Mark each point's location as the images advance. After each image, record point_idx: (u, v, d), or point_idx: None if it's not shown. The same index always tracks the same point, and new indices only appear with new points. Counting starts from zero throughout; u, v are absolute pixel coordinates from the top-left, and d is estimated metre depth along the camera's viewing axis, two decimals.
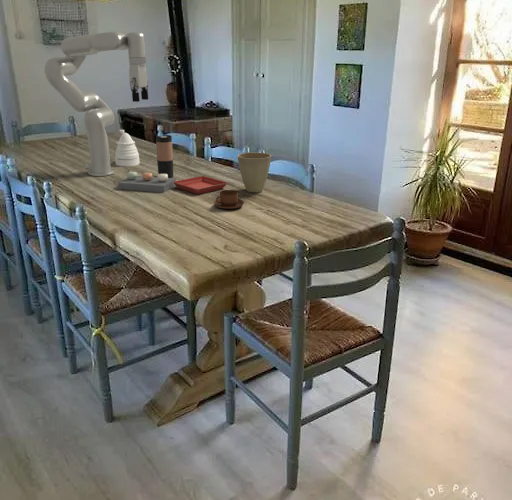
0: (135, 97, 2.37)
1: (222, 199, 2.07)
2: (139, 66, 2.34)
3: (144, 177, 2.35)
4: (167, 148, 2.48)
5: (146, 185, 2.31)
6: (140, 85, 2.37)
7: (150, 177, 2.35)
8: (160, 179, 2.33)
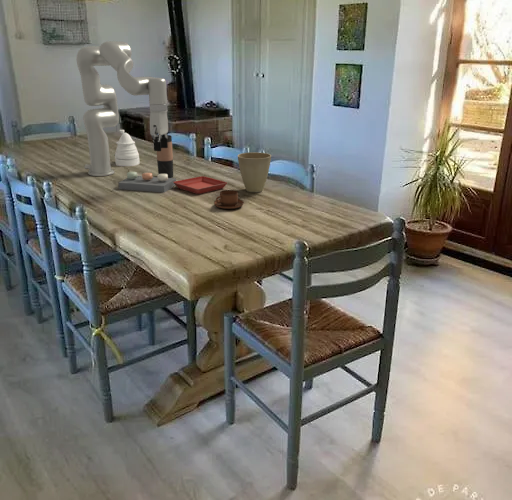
0: (157, 147, 2.25)
1: (222, 199, 2.07)
2: (160, 113, 2.21)
3: (144, 177, 2.35)
4: (167, 148, 2.48)
5: (146, 185, 2.31)
6: (161, 133, 2.24)
7: (150, 177, 2.35)
8: (160, 179, 2.33)
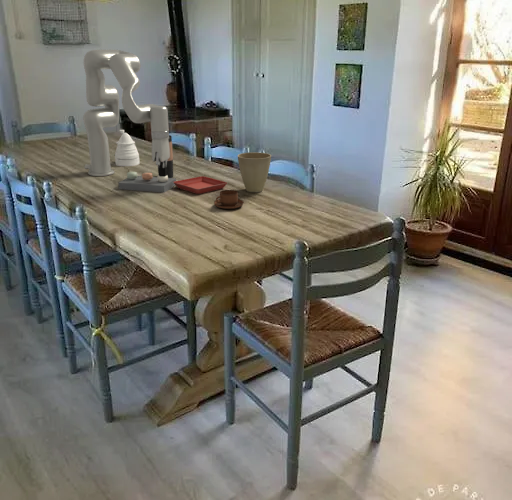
0: (162, 172, 2.32)
1: (222, 199, 2.07)
2: (162, 140, 2.25)
3: (144, 177, 2.35)
4: None
5: (146, 185, 2.31)
6: (163, 159, 2.28)
7: (150, 177, 2.35)
8: (160, 180, 2.33)
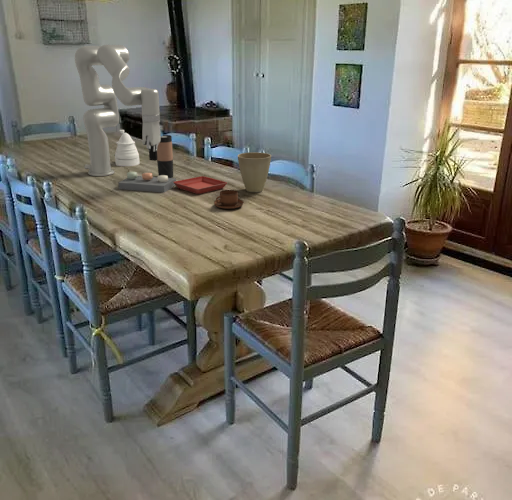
0: (152, 156, 2.31)
1: (222, 199, 2.07)
2: (153, 124, 2.24)
3: (144, 177, 2.35)
4: (167, 148, 2.48)
5: (146, 185, 2.31)
6: (153, 143, 2.26)
7: (150, 177, 2.35)
8: (160, 181, 2.33)
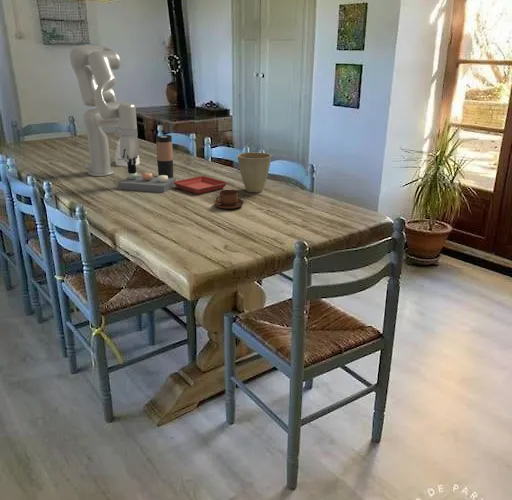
0: (131, 169, 2.35)
1: (222, 199, 2.07)
2: (130, 138, 2.28)
3: (144, 177, 2.35)
4: (167, 148, 2.48)
5: (146, 185, 2.31)
6: (131, 156, 2.31)
7: (150, 177, 2.35)
8: (160, 181, 2.33)
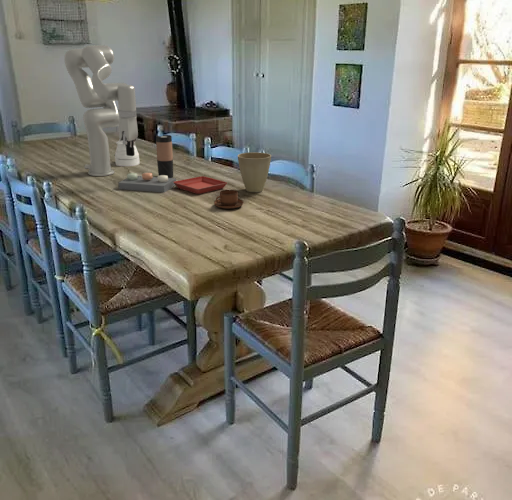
0: (129, 152, 2.34)
1: (222, 199, 2.07)
2: (129, 120, 2.27)
3: (144, 177, 2.35)
4: (167, 148, 2.48)
5: (146, 185, 2.31)
6: (130, 138, 2.29)
7: (150, 177, 2.35)
8: (160, 181, 2.33)
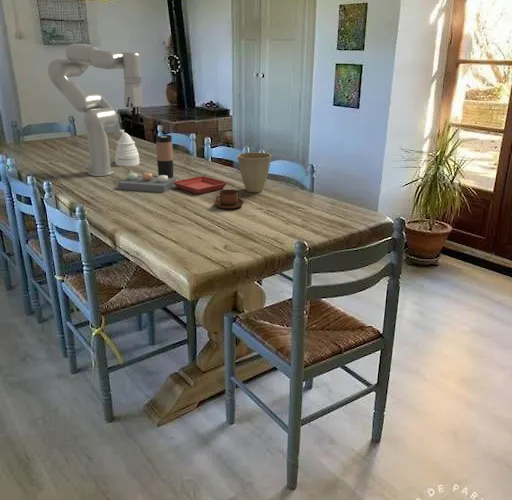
0: (134, 118, 2.39)
1: (222, 199, 2.08)
2: (134, 86, 2.32)
3: (144, 177, 2.35)
4: (167, 148, 2.48)
5: (146, 185, 2.31)
6: (135, 105, 2.35)
7: (150, 177, 2.35)
8: (160, 181, 2.33)
